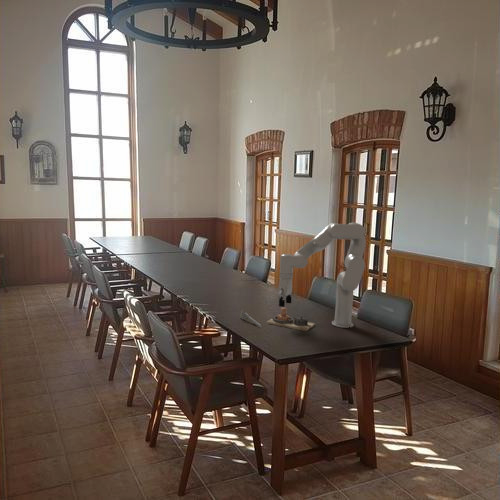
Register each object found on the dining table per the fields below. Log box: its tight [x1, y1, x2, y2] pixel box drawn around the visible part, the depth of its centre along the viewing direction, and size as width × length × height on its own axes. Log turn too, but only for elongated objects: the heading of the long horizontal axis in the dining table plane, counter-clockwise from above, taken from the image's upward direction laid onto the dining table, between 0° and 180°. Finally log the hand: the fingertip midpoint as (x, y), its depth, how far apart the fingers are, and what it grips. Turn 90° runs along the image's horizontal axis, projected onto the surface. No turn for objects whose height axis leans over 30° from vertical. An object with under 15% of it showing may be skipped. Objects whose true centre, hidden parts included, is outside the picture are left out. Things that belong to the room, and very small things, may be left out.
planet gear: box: [277, 306, 290, 321], centre depth 284 cm, size 7×7×8 cm
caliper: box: [239, 308, 263, 329], centre depth 281 cm, size 20×1×6 cm, turn 36°
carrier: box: [266, 314, 316, 332], centre depth 282 cm, size 14×24×6 cm, turn 62°
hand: (285, 304), depth 284 cm, fingers open, 9 cm apart
